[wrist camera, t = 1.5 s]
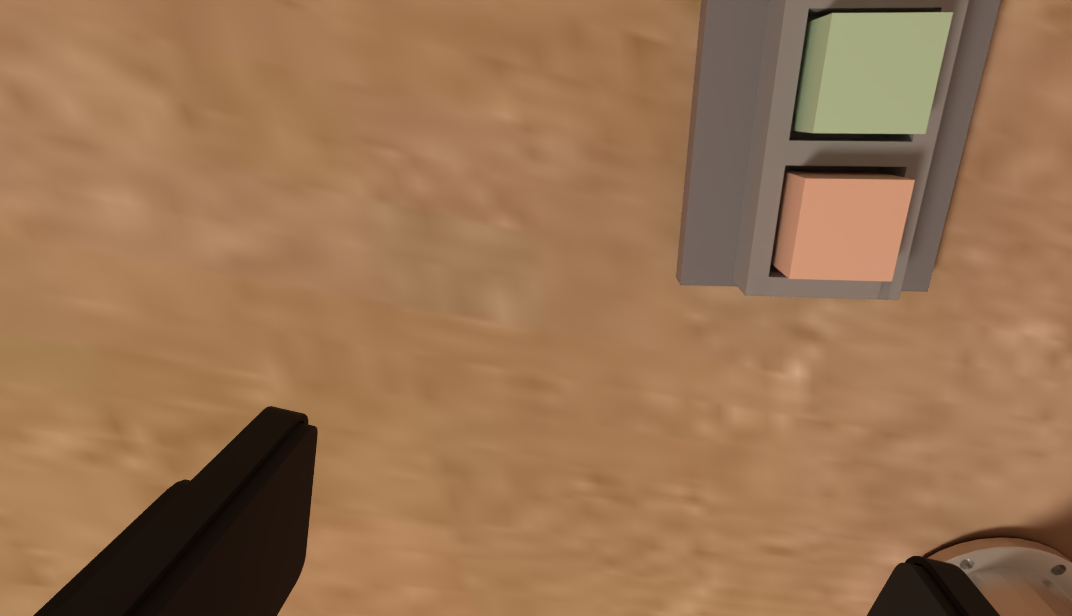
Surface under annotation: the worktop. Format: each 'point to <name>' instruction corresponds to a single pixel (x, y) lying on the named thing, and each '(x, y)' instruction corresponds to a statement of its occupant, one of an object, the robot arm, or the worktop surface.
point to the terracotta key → (840, 225)
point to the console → (809, 143)
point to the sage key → (870, 72)
